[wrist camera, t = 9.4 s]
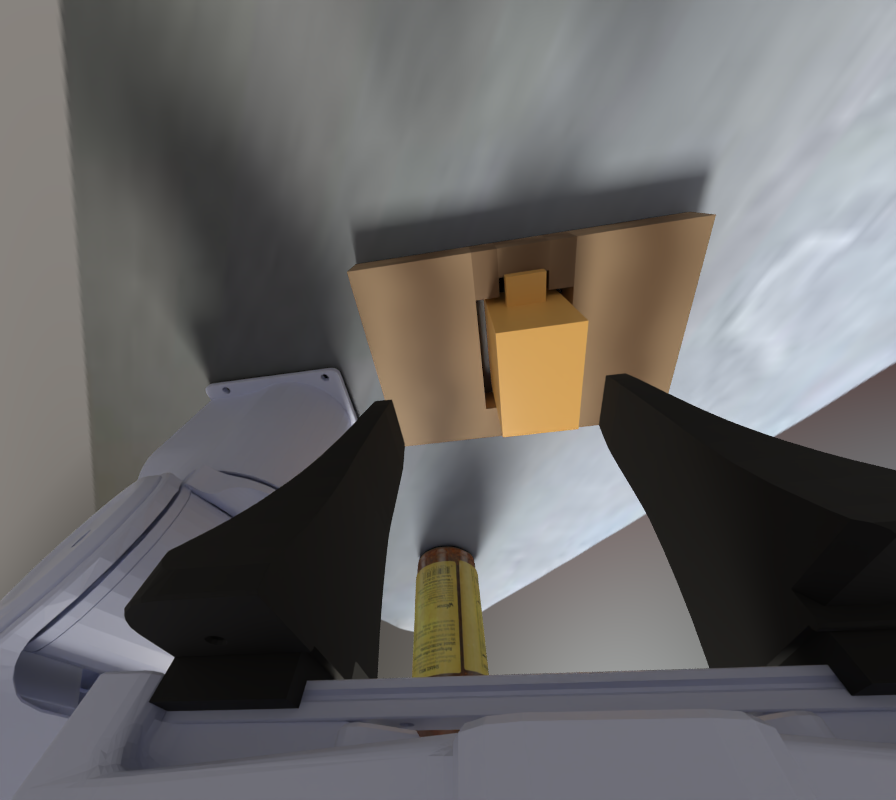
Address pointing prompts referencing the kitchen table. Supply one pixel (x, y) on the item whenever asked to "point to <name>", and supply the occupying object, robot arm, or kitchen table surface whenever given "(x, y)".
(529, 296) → the block
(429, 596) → the sauce bottle
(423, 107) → the kitchen table surface
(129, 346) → the kitchen table surface
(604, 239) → the pocket board
